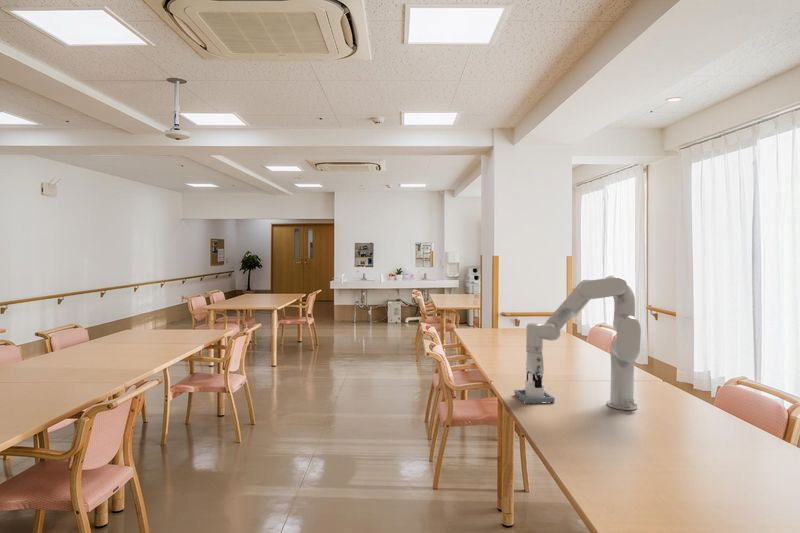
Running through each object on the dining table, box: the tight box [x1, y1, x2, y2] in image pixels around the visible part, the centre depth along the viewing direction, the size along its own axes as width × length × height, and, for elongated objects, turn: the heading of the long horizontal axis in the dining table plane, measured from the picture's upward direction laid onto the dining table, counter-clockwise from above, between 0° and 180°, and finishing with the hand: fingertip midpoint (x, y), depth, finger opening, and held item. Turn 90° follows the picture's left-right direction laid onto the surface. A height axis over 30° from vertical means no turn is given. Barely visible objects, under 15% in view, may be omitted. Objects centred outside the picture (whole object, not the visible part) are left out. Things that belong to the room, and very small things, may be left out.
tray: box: [513, 389, 555, 404], centre depth 216 cm, size 14×14×2 cm
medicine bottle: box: [524, 372, 545, 398], centre depth 216 cm, size 7×7×12 cm
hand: (534, 384), depth 216 cm, fingers open, 9 cm apart
